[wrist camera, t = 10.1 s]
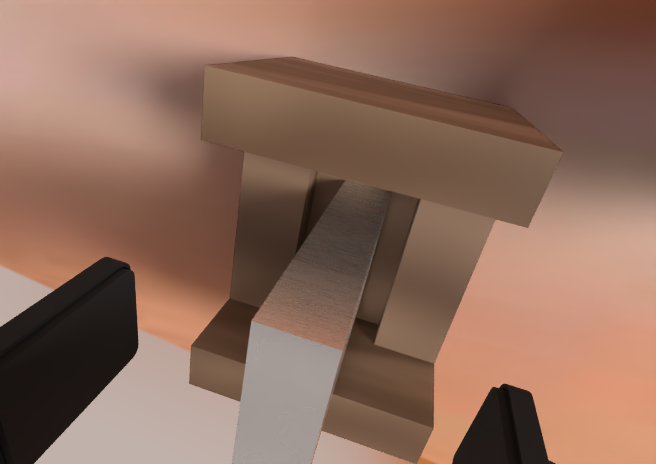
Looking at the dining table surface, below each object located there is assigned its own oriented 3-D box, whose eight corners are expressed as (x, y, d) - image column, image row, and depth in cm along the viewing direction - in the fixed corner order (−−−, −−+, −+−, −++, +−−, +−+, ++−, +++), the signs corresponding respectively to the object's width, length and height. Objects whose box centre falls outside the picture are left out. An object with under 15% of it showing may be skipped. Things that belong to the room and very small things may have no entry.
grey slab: (345, 179, 17) (251, 321, 9) (391, 192, 17) (342, 350, 8) (320, 292, 20) (228, 487, 11) (359, 304, 20) (296, 514, 11)
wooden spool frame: (292, 56, 19) (204, 65, 12) (512, 107, 17) (563, 151, 10) (260, 286, 25) (189, 383, 18) (422, 336, 23) (416, 464, 16)
